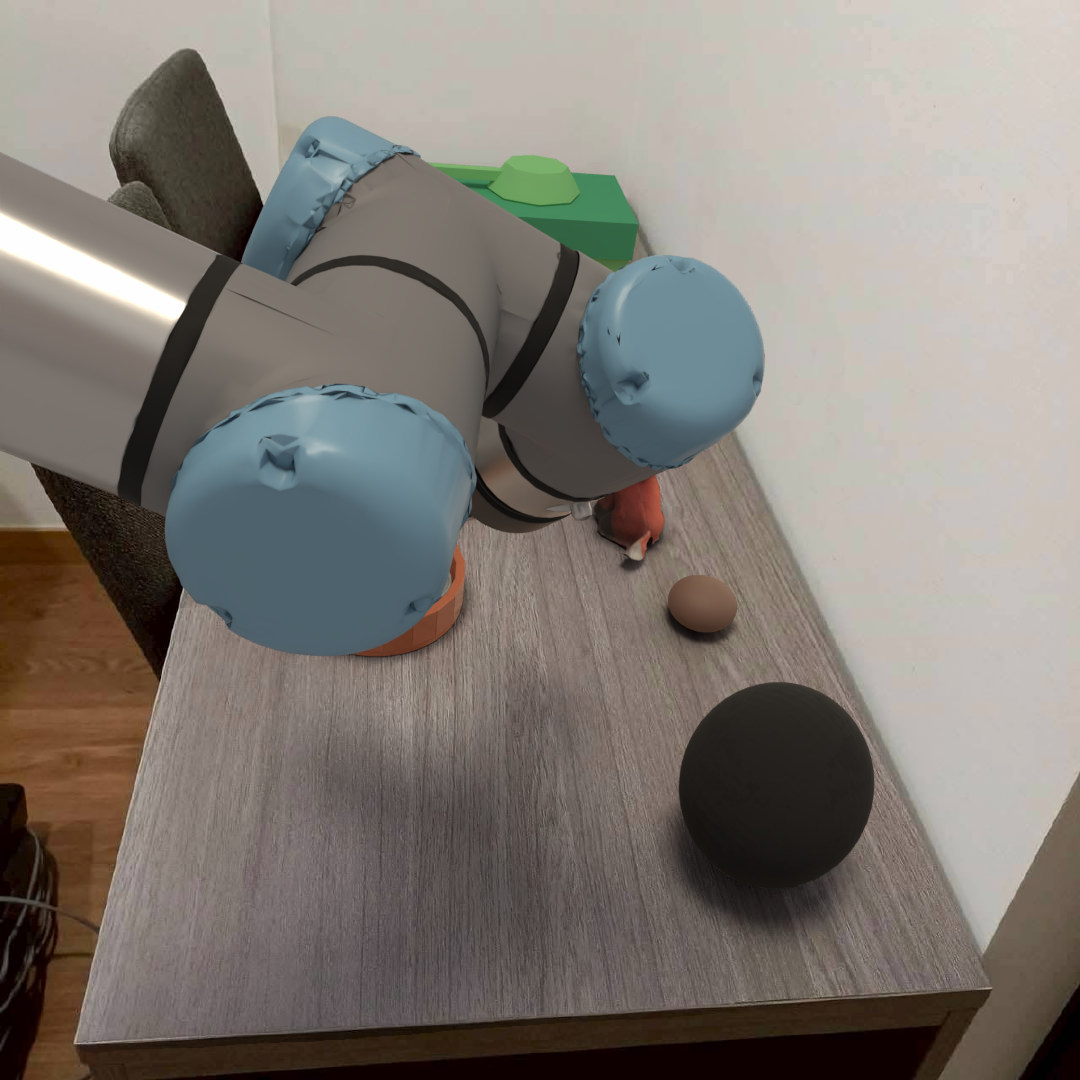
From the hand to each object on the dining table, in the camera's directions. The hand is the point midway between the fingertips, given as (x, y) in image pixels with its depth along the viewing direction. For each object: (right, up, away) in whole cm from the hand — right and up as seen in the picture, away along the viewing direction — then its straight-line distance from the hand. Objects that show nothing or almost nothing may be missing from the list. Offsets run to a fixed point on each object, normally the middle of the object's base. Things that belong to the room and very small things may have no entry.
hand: (418, 526), depth 72 cm
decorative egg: (+23, -23, +3) cm, 33 cm away
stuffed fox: (+16, -1, +29) cm, 34 cm away
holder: (-6, -6, +19) cm, 20 cm away
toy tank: (+2, +40, +76) cm, 86 cm away
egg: (+22, -8, +21) cm, 32 cm away
